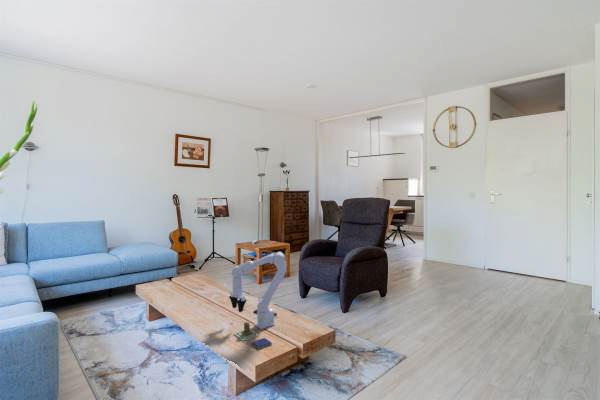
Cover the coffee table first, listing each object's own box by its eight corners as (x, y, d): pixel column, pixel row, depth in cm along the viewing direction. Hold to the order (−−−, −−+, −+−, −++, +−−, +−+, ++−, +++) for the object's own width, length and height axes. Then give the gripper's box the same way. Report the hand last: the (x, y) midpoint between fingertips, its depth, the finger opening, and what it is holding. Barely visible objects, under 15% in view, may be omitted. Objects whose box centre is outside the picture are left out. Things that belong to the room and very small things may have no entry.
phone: (262, 307, 215) (277, 313, 205) (262, 309, 215) (277, 315, 205) (252, 311, 209) (268, 317, 199) (252, 313, 209) (268, 319, 199)
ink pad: (264, 339, 172) (264, 337, 172) (271, 344, 167) (271, 342, 167) (251, 344, 168) (251, 341, 167) (258, 349, 162) (258, 347, 162)
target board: (250, 329, 185) (250, 328, 185) (259, 335, 177) (259, 334, 177) (234, 334, 178) (234, 333, 178) (242, 341, 171) (242, 340, 171)
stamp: (248, 331, 181) (248, 320, 180) (252, 333, 178) (252, 323, 178) (241, 334, 178) (241, 323, 177) (245, 336, 175) (244, 325, 174)
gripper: (225, 285, 192) (225, 307, 193) (237, 291, 181) (237, 315, 181) (236, 282, 196) (236, 304, 197) (248, 288, 185) (248, 312, 186)
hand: (237, 309), depth 189 cm, fingers open, 7 cm apart
